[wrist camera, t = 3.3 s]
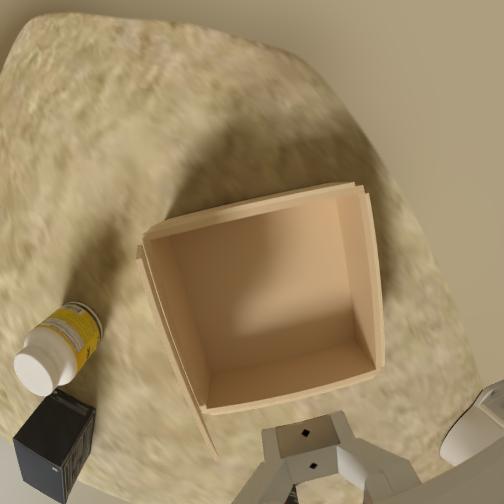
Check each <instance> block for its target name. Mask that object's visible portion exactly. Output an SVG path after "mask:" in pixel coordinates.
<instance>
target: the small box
mask: <svg viewBox="0 0 504 504" xmlns="http://www.w3.org/2000/svg"><path fill="white" fill-rule="evenodd" d="M95 412H96V410H95V409H93V408H92V407H89V406H87V405H85V404H83V403H81V402H79V401H77V400H76V399H74V398H72V397H70V396H68V395H66V394H65V393H63V392H61V391H60V390H58V389H56V388H55V389H54V390H53V392H52V393H51V394H50V395H48V396H46V397H45V399H44V400H43V401H42V402H41V404H40V405H39V406H38V407H37V409H36V410H35V411H34V412H33V414H32V415H31V416H30V417H29V419H28V420H27V421H26V422H25V424H24V425H23V426H22V427H21V429H20V430H19V431H18V433H17V434H16V435H15V436H14V437H13V442H14V447H15V450H16V455H17V459H18V463H19V467H20V470H21V474H22V477H23V481H25V482H26V483H28V484H29V485H31V486H32V487H34V488H36V489H37V490H39V491H40V492H42V493H44V494H45V495H47V496H49V497H51V498H52V499H54V500H56V501H57V502H59V503H61V504H66V502H67V499H68V496H69V494H70V492H71V490H72V487H73V485H74V483H75V481H76V479H77V477H78V475H79V473H80V471H81V469H82V467H83V465H84V463H85V462H86V460H87V458H88V456H89V454H90V450H91V442H92V434H93V427H94V420H95Z"/></svg>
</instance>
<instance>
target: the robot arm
mask: <svg viewBox="0 0 504 504" xmlns="http://www.w3.org/2000/svg"><path fill="white" fill-rule="evenodd" d="M262 442H263V450H264V459H265V462H261V463H260V465H259V466H258V468H257V469H256V470H255V472H254V473H253V475H252V476H251V478H250V479H249V480H248V482H247V483H246V484H245V486H244V487H243V489H242V490H241V491H240V493H239V494H238V495H237V497H236V498H235V499H234V501H233V502H232V503H231V504H284V503H285V501H286V499H287V497H288V495H289V493H290V491H291V489H292V487H293V484H297V483H301V482H305V481H309V480H313V479H317V478H321V477H325V476H329V475H333V474H337V473H339V475H341V476H342V477H344V478H345V479H346V480H348V481H349V482H351V483H352V484H354V485H355V486H357V487H358V488H360V489H361V490H363V491H364V498H363V504H504V380H502V381H500V382H497V383H495V384H493V385H490V386H488V387H486V388H485V389H484V390H483V391H482V393H481V394H480V395H479V397H478V398H477V400H476V401H475V403H474V405H473V406H472V407H471V408H470V409H469V410H468V411H467V412H466V413H465V414H464V415H463V416H462V417H461V418H460V419H459V421H458V422H457V423H456V424H455V425H454V426H453V428H452V429H451V430H450V432H449V433H448V435H447V436H446V438H445V440H444V442H443V444H442V446H441V450H440V455H441V457H442V458H443V459H444V460H446V461H447V462H449V463H450V464H452V465H453V466H454V467H453V468H452V469H450V470H448V471H446V472H444V473H442V474H440V475H438V476H437V477H435V478H433V479H431V480H428V481H426V482H424V483H421V481H420V479H419V477H418V476H417V474H416V472H415V470H414V469H413V467H412V465H411V463H410V462H409V460H407V459H405V458H402V457H400V456H398V455H395V454H393V453H391V452H389V451H386V450H384V449H382V448H380V447H378V446H376V445H373V444H371V443H369V442H367V441H365V440H363V439H361V438H357V439H356V438H355V436H354V434H353V432H352V430H351V427H350V425H349V423H348V421H347V419H346V417H345V414H344V412H343V411H342V410H341V411H337V412H334V413H331V414H329V415H328V414H327V415H324V416H320V417H317V418H313V419H309V420H305V421H302V422H298V423H293V424H288V425H283V426H278V427H274V428H269V429H263V430H262Z"/></svg>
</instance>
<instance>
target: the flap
mask: <svg viewBox="0 0 504 504" xmlns="http://www.w3.org/2000/svg"><path fill="white" fill-rule="evenodd" d="M136 263H137V267H138V270H139V273H140V277H141V280H142V283H143V286H144V289H145V292H146V296H147V299H148V302H149V305H150V308H151V311H152V314H153V316H154V319H155V322H156V325H157V328H158V331H159V333H160V336H161V339H162V341H163V344H164V347H165V349H166V352H167V355H168V357H169V360H170V362H171V365H172V367H173V370H174V372H175V375H176V377H177V380H178V382H179V385H180V387H181V389H182V392H183V394H184V396H185V399H186V401H187V403H188V405H189V408H190V410H191V412H192V414H193V416H194V419H195V421H196V423H197V425H198V427H199V429H200V431H201V434H202V436H203V438H204V440H205V442H206V444H207V446H208V448H209V450H210V452H211V454H212V456H213V458H214V460H215V462H216V461H219V457H218V455H217V452H216V450H215V447H214V445H213V442H212V440H211V437H210V435H209V432H208V430H207V427H206V425H205V422H204V419H203V417H202V414H201V411H200V409H199V407H198V404H197V402H196V400H195V397H194V395H193V392H192V390H191V387H190V385H189V383H188V380H187V378H186V375H185V372H184V370H183V367H182V365H181V362H180V359H179V357H178V354H177V351H176V349H175V346H174V343H173V341H172V338H171V335H170V332H169V329H168V326H167V323H166V321H165V318H164V315H163V312H162V309H161V306H160V303H159V299H158V296H157V293H156V290H155V287H154V284H153V280H152V277H151V274H150V270H149V267H148V264H147V260H146V257H145V253H144V250H143V246H142V245H139V246H138V248H137V254H136Z"/></svg>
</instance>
